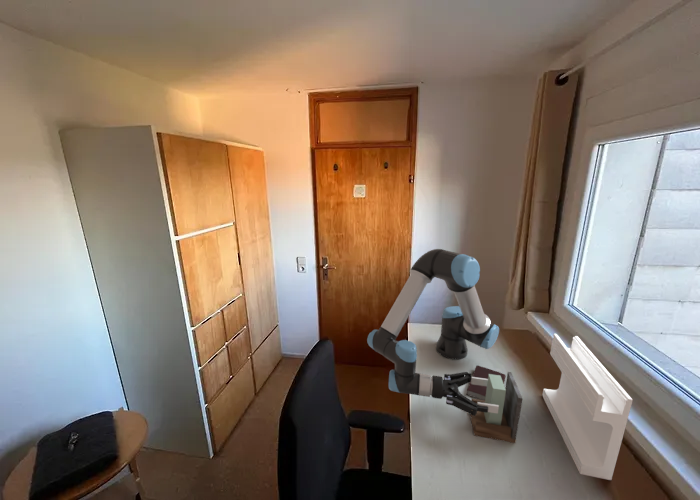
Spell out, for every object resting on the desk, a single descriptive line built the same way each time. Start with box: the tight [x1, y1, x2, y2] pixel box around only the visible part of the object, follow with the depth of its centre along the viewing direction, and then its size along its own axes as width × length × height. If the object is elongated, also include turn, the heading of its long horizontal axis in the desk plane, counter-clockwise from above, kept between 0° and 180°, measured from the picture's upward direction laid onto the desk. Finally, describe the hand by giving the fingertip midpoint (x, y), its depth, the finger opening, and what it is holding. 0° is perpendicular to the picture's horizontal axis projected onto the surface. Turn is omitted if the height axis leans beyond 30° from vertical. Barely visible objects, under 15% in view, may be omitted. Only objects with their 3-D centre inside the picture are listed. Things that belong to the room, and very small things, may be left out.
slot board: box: [469, 371, 524, 444], centre depth 111 cm, size 14×13×18 cm
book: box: [465, 365, 507, 400], centre depth 133 cm, size 12×19×3 cm, turn 148°
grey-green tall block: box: [484, 374, 506, 425], centre depth 111 cm, size 8×4×16 cm, turn 167°
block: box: [542, 333, 634, 481], centre depth 107 cm, size 35×8×28 cm, turn 166°
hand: (493, 395), depth 110 cm, fingers open, 13 cm apart
